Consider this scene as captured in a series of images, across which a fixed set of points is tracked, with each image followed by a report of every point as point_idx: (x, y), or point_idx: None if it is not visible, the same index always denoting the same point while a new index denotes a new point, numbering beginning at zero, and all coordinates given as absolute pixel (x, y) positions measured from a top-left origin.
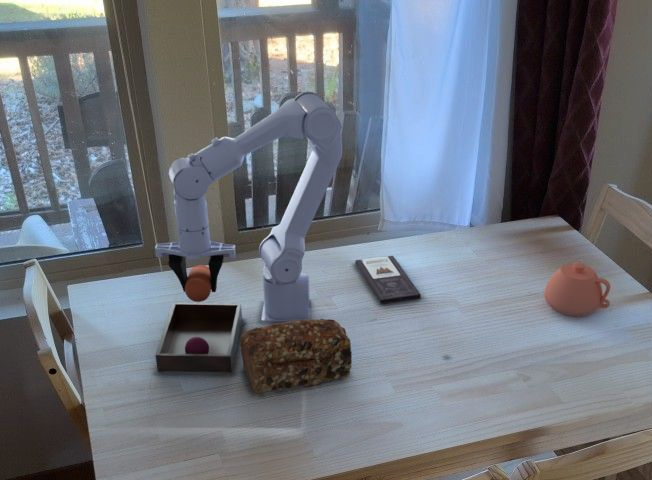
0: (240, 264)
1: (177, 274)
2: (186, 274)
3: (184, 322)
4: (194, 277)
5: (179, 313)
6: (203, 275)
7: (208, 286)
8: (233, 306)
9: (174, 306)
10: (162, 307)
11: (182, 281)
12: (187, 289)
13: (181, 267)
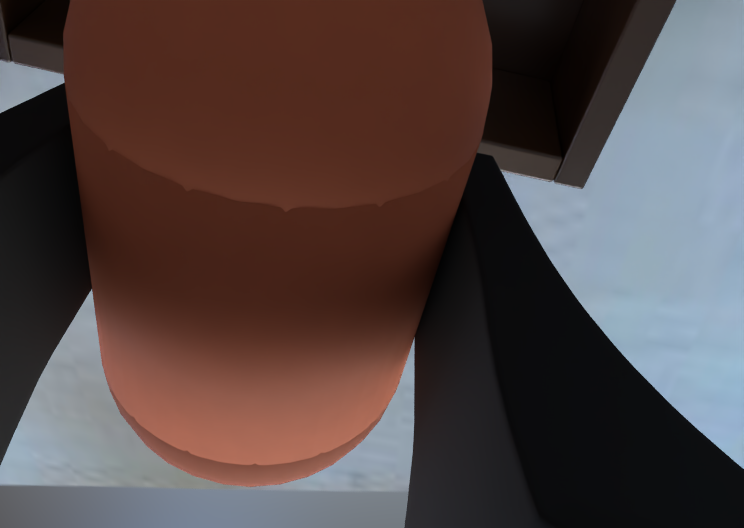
0: (175, 475)
1: (593, 348)
2: (422, 376)
3: (507, 26)
4: (282, 236)
5: (535, 104)
6: (138, 273)
7: (64, 30)
8: (47, 36)
9: (584, 127)
10: (611, 253)
11: (505, 243)
12: (453, 10)
13: (520, 464)
